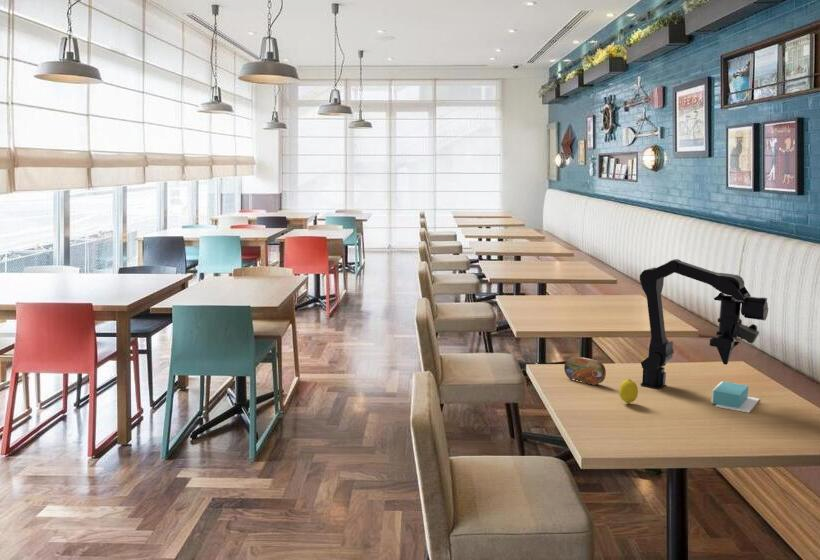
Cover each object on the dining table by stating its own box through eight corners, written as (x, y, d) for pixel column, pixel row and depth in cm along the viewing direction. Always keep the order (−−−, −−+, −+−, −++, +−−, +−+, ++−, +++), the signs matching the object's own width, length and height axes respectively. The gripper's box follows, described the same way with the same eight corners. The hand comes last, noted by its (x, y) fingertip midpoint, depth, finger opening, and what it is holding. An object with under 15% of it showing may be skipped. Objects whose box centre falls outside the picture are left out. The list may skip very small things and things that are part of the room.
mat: (715, 406, 219) (715, 405, 219) (727, 394, 231) (727, 393, 231) (749, 412, 214) (749, 411, 214) (759, 399, 226) (759, 398, 226)
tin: (563, 378, 249) (564, 354, 248) (568, 376, 251) (569, 353, 250) (601, 387, 238) (602, 363, 237) (606, 385, 240) (607, 361, 239)
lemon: (638, 402, 223) (639, 377, 222) (635, 407, 218) (637, 382, 217) (620, 400, 225) (621, 375, 224) (617, 405, 220) (618, 380, 219)
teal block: (712, 390, 221) (739, 395, 216) (721, 381, 230) (748, 385, 226) (711, 402, 221) (738, 408, 217) (720, 393, 231) (747, 397, 226)
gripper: (750, 324, 210) (746, 375, 213) (764, 314, 225) (759, 362, 228) (711, 319, 217) (707, 369, 220) (726, 309, 232) (722, 356, 234)
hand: (725, 364), depth 225 cm, fingers closed
